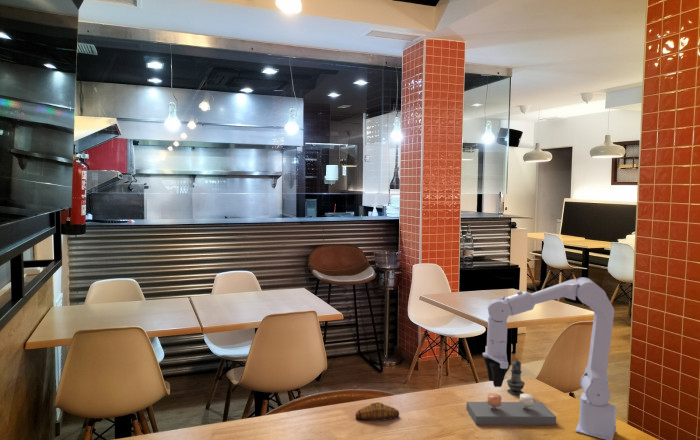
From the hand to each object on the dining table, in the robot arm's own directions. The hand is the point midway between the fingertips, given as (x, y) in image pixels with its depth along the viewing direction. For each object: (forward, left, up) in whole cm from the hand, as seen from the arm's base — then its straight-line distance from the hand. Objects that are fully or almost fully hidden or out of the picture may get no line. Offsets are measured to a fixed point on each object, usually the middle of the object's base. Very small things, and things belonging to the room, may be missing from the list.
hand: (495, 383), depth 148 cm
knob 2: (-8, -6, -8) cm, 13 cm away
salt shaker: (0, -23, -11) cm, 25 cm away
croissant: (+28, +22, -11) cm, 37 cm away
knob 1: (0, 0, -8) cm, 8 cm away
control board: (-4, -3, -10) cm, 12 cm away
